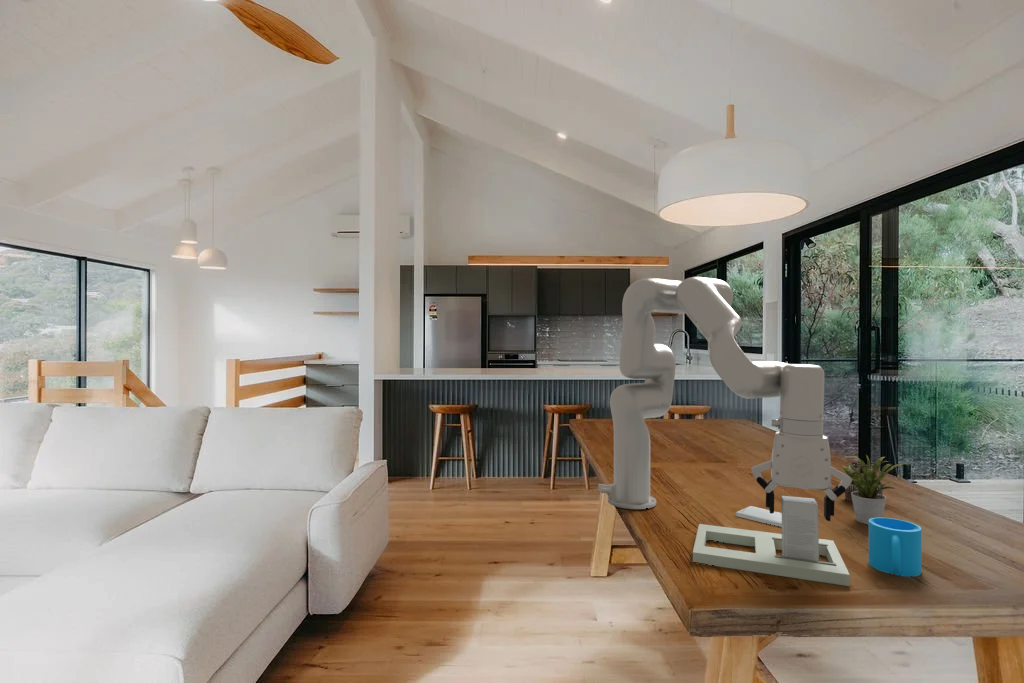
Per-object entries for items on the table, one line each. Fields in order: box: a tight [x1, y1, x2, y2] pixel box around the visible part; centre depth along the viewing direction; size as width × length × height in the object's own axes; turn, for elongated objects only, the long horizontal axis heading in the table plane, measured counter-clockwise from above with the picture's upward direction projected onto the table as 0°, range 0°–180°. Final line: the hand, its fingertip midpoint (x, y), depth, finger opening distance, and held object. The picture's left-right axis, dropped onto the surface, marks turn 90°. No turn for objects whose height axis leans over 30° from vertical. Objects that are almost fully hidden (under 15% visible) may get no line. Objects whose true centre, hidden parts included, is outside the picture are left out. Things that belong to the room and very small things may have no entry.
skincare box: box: [780, 495, 820, 561], centre depth 105 cm, size 6×4×12 cm
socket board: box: [692, 523, 851, 587], centre depth 107 cm, size 26×18×2 cm
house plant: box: [840, 454, 909, 525], centre depth 129 cm, size 14×14×16 cm
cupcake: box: [844, 462, 884, 503], centre depth 146 cm, size 10×10×10 cm
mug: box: [868, 517, 923, 577], centre depth 101 cm, size 12×8×8 cm
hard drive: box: [735, 505, 782, 528], centre depth 131 cm, size 2×8×12 cm
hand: (798, 515), depth 105 cm, fingers open, 9 cm apart
